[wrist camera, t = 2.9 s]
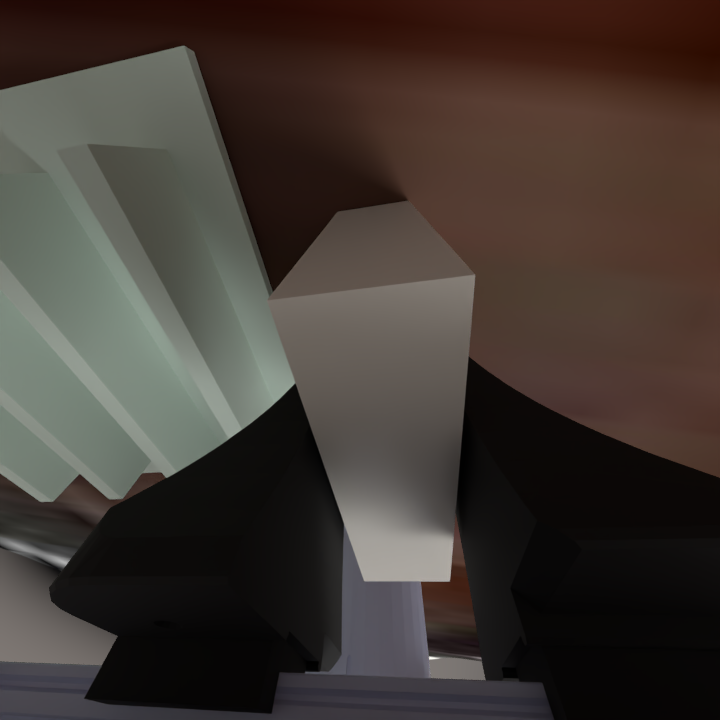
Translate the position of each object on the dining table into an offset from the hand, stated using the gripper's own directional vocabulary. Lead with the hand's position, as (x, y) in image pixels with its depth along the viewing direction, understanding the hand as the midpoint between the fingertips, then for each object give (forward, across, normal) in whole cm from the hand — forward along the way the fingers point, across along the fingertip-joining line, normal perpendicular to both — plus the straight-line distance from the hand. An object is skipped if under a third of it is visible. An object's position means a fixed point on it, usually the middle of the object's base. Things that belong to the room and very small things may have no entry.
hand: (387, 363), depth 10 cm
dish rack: (+3, +13, 0) cm, 13 cm away
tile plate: (+3, 0, 0) cm, 3 cm away
